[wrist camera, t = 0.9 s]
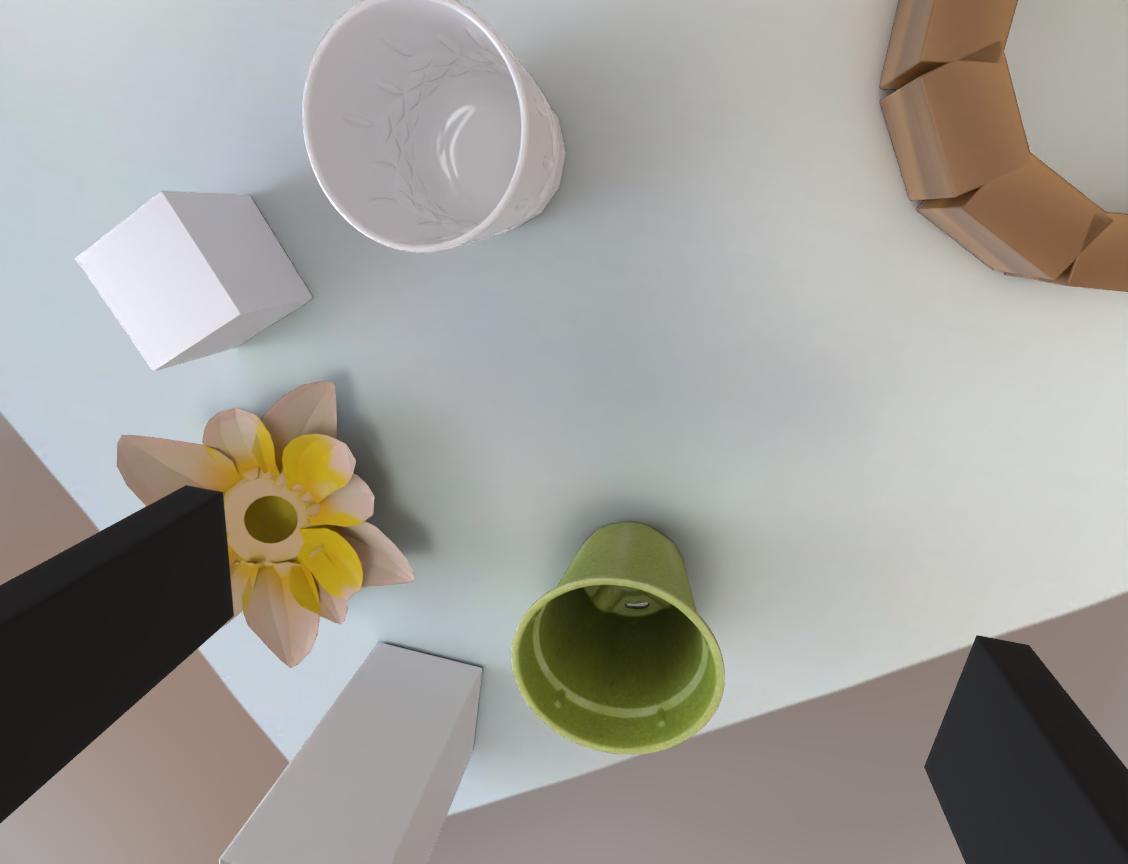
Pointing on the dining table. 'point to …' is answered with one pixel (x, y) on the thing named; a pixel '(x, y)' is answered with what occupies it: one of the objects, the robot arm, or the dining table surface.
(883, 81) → the ring
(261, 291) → the white cube
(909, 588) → the dining table surface
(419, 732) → the milk carton
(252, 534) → the decorative flower
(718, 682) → the plant pot
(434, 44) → the white cup
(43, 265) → the dining table surface
